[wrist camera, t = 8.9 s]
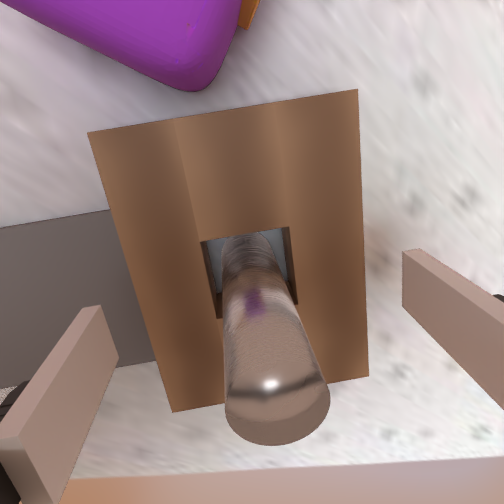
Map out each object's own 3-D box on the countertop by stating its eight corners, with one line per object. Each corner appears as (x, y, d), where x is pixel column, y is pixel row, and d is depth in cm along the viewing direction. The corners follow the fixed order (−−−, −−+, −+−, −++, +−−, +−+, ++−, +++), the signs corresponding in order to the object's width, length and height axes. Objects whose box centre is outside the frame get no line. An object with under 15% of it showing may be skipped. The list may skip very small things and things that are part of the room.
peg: (226, 281, 22) (235, 454, 11) (217, 235, 21) (215, 373, 9) (274, 272, 22) (333, 434, 11) (267, 226, 21) (325, 352, 10)
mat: (1, 384, 23) (-3, 389, 22) (-74, 240, 19) (-79, 242, 19) (185, 351, 23) (185, 355, 23) (146, 203, 20) (145, 204, 19)
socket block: (177, 378, 24) (172, 412, 21) (107, 130, 18) (86, 132, 15) (351, 346, 24) (368, 376, 21) (336, 93, 18) (357, 88, 16)
